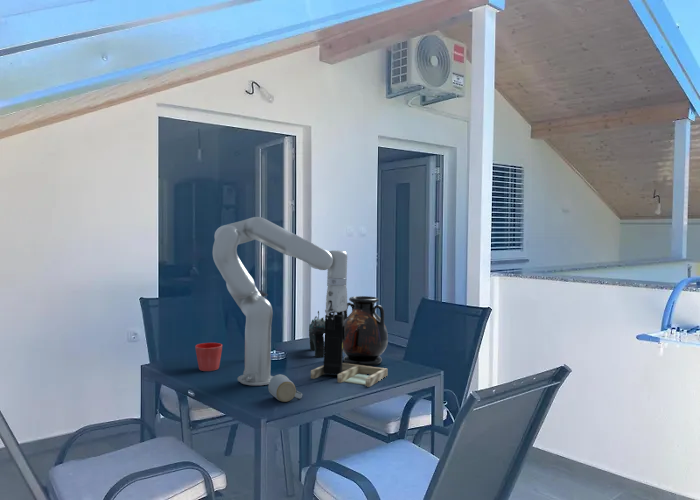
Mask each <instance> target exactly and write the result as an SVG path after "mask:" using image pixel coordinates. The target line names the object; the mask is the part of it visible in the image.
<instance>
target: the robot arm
mask: <svg viewBox="0 0 700 500" xmlns="http://www.w3.org/2000/svg"><path fill="white" fill-rule="evenodd" d="M251 241H258V242H259V243H261V244H262V245H265V246H267V247H268V248H272V249H273V250H275V251H277V252H278V253H281V254H283V255H286V256H290V257H293V258H295V259H298V260H300V261H302V262H305V263H306V264H307V265H308V266H309V267H311V268H312V269H316V270H320V271H327V277H326V278H327V280H326V287H327V289H326V295H325V297H326V298H325V309H324V312H325V315H326V316H327V329H329V330H335V320H334V318H335V315H344V313H345V311H346V310H347V311H348V309H347V303H348V289H347V283H348V282H347V277H348V253H347V251H345V250H326V249H325V248H323V247H321V246H319V245H317V244H315V243H314V242H311V241H308V240H307V239H305V238H303V237H301V236H300V235H297V234H295V233H294V232H292V231H289V230H287V229H285V228H283V227H282V226H280V225H277V224H276V223H274V222H272V221H270V220H268V219H266V218H264V217H261V216H253V217H250V218H246V219H243V220H239V221H235V222H232V223H228V224H224V225H220V227H218V228H217V229H216V230H215V231H214V242H213V245H212V258H213V262H214V264H215V266H216V268H217V270H218V271H219V273H220V274H221V276H222V279H223V280H224V281H225V284H226V289H227V291H228V292H229V294H230V295H231V297H232V298H233V300H234V302H235V303H236V305H237V306H238V307H239V309H240V310H241V312H242V313H243V315H244V316H245V326H244V328H245V329H244V370H243V373H242V374H241V375H240V376H238V377H237V381H238V382H240V383H241V384H243V385H245V386H253V387H254V386H264V385H265V386H266V385H269V382H270V380H271V379H272V378H273V377H274V376H273V375H271V371H272V370H271V368H272V367H271V365H272V364H271V363H272V359H271V358H272V357H271V356H272V323H273V306H272V304H271V302H270V301H269V300H268V299H267V298H265V296H264V297H262V296H261V294H260V293H259V291H258V290H259V289H258V288H257V286H256V283H255V279H254V278H253V276H252V275H251V274H250V273H249V271H248V270H247V268H246V266H245V265H244V263H243V262H242V261H241V259H240V257H239V255H238V250H237V249H238V245H242V244H245V243H249V242H251ZM332 314H333V315H332Z"/></svg>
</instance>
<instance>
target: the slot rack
mask: <svg viewBox="0 0 700 500" xmlns="http://www.w3.org/2000/svg"><path fill="white" fill-rule="evenodd" d="M388 371H389V370H388V368H386V367H385V368H384V367H378V366H364V365H356V364H348V363H346V362H342V372H341V373H339V374H338V375H337V383H349V384H355V385H361V386H362V385H363V386H365V387H366V386H367V388H370V387H372V386H374V385H375V384H377V383H378V381H379V382H380V381H382V380H384V379H385V378H387V377H388ZM367 374H369V375H367ZM323 375H325V374H324V364H323V365H320V366H318V367H315V368H313V369H311V370H310V379H314V380H315V379H317V378H320V377H322V376H323ZM386 376H387V377H386ZM384 377H385V378H384ZM383 378H384V379H383ZM381 379H382V380H381Z"/></svg>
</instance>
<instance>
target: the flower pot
mask: <svg viewBox="0 0 700 500" xmlns="http://www.w3.org/2000/svg"><path fill="white" fill-rule="evenodd" d="M194 348H195V354H196V361H197V367H198V370H200V371H203V372H212V371H213V372H214V371H217V370H219V368H220V365H221V358H222V352H223V344H222V343H220V342H202V343H197V344H196V345H195V346H194Z"/></svg>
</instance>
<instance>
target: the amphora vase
mask: <svg viewBox="0 0 700 500" xmlns="http://www.w3.org/2000/svg"><path fill="white" fill-rule="evenodd" d="M348 300H349V302H347V310H346V311H345V313H344V325H345V340H344V339H343V353H344V354H345V356H344V357H343V361H344V363H348V364H356V365H364V366H371V367H374V366H377V365H379V364H381V362H382V361H383V359H382V357H381V355H383V353H384V352H385V351H386V349H387V347H388V344H389V335H388V329H387V326H386V325H385V310H384V307H383V306H382V305H381V304H376V303H378V302H379V300H380V299H379V297H375V296H367V295H366V296H364V295H362V296H361V295H360V296H359V295H358V296H351V297H348ZM375 304H376V305H375ZM349 306H350V307H351V312H350V313H349V314H348V308H349ZM377 309H378V310H379V311H380V312H379V313H380V316H379V314H378V313H376V310H377Z"/></svg>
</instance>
